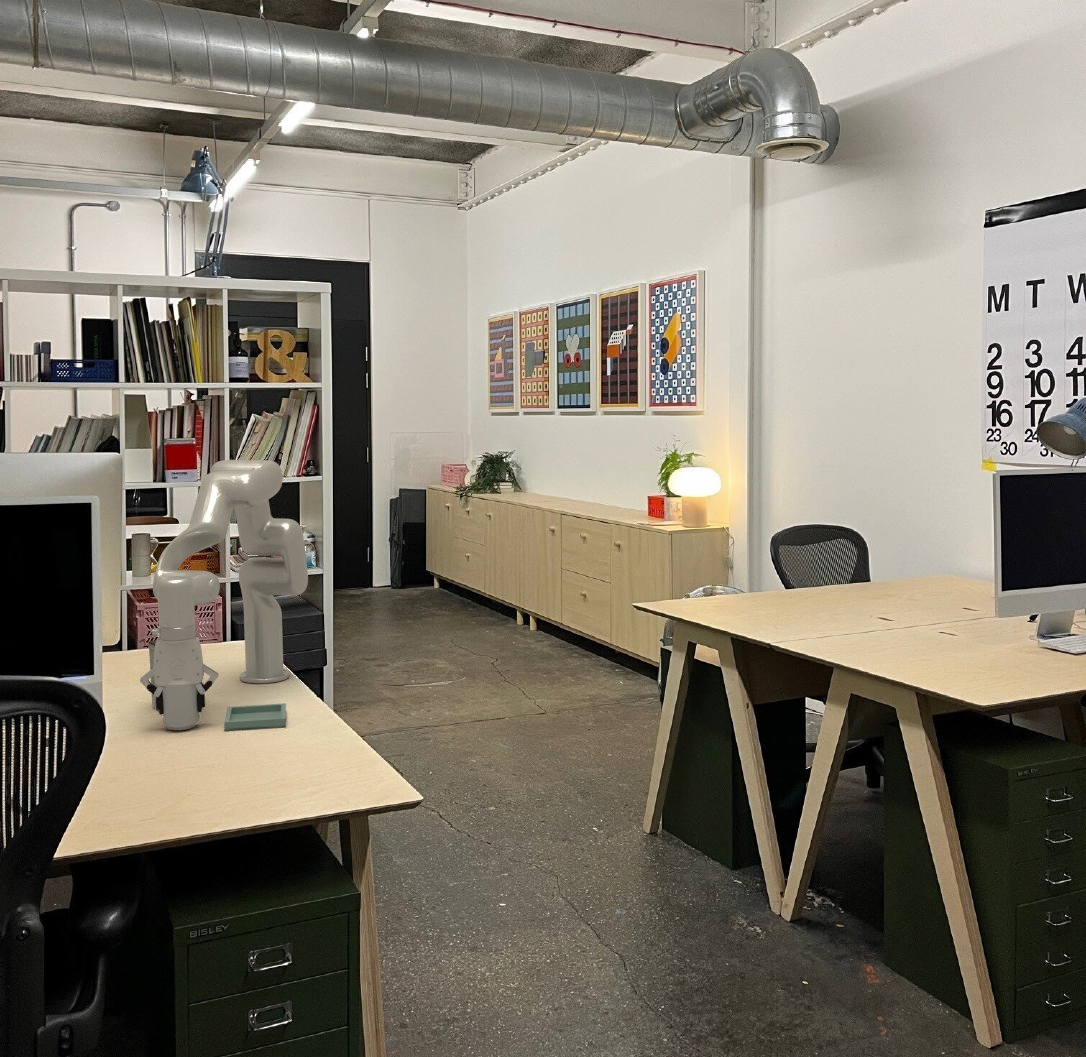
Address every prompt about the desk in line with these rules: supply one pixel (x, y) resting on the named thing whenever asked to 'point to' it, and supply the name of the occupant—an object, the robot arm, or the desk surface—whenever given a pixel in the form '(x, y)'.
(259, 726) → the tray
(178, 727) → the can
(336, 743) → the desk surface
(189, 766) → the desk surface
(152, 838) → the desk surface
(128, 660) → the desk surface
